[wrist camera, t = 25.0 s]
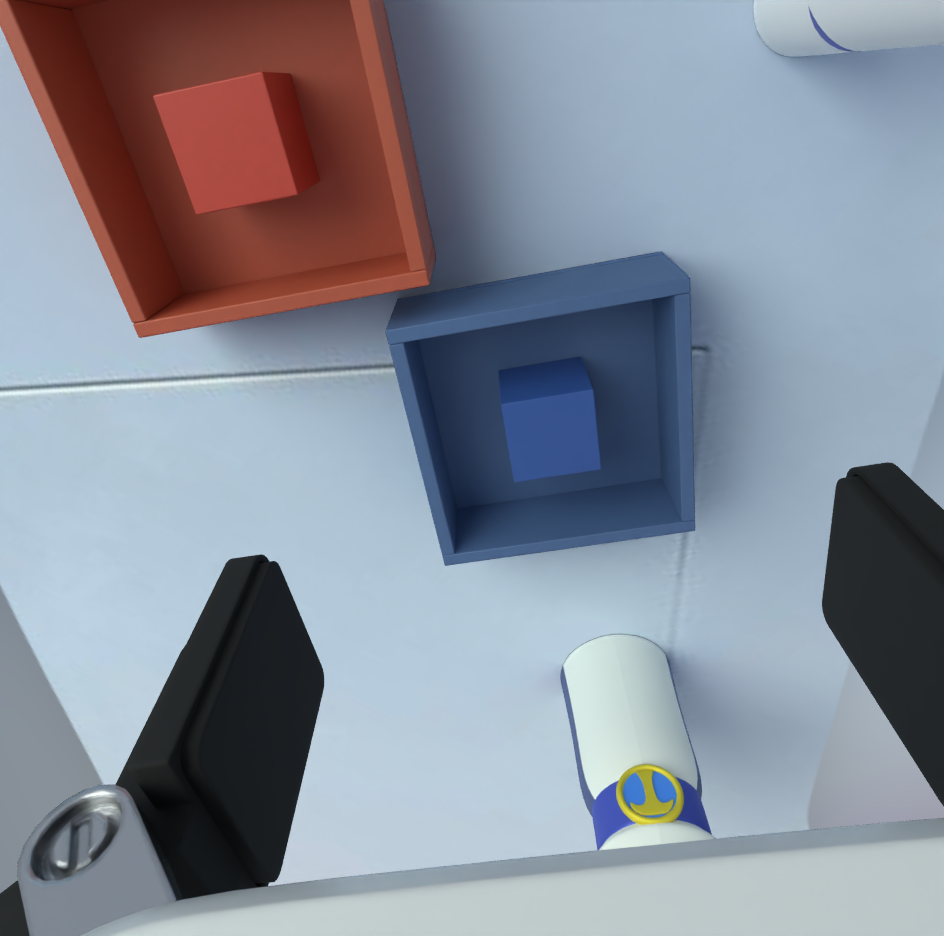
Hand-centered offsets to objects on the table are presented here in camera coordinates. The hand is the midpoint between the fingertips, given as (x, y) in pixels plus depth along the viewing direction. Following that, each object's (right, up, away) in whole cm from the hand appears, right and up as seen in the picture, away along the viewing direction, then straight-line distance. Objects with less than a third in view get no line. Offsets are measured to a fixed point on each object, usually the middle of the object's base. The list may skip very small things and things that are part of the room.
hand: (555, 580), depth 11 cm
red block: (-11, +17, +19) cm, 27 cm away
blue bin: (+3, +6, +26) cm, 26 cm away
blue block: (+3, +6, +25) cm, 26 cm away
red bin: (-11, +17, +19) cm, 28 cm away
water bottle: (+9, -13, +36) cm, 39 cm away
